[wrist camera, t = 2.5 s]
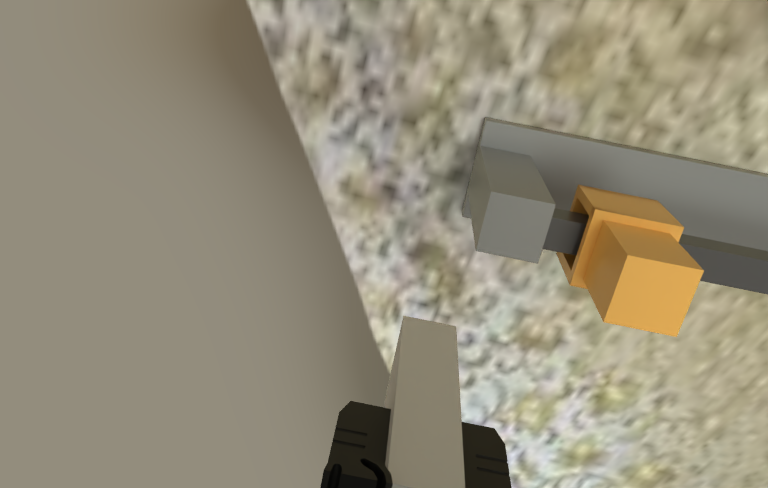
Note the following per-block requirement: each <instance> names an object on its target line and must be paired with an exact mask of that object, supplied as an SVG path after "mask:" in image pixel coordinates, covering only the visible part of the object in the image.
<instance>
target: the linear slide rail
mask: <svg viewBox="0 0 768 488" xmlns="http://www.w3.org/2000/svg"><path fill="white" fill-rule="evenodd" d="M578 185H583V186H588V187H593V188H598V189H603V190H608V191H613V192H618V193H623V194H628V195H633V196H638V197H643V198H648V199H653V200H658V201H659V202H660V203H661V204H662V205H663V206H664V207H665V208H666V209H667V210H668V211H669V212H670V213H671V214H672V215H673V216H674V217H675V218H676V219H677V220H678V221H679V222H680V223H681V224H682V225H683V226H684V230H683V232H682V235H681V237H680V240H679V242H678V243H679V244H680V245H681V246H682V247H683V248H684V249H685V250H686V251H687V252H688V254H689V255H690V256H691V257H692V258H693V259H694V260H695V261H696V262H697V263H698V264H699V266H700V267H701V268H702V269H703V270H704V272H703V275H702V277H701V279H700V281H705V282H710V283H714V284H719V285H724V286H729V287H734V288H739V289H744V290H749V291H754V292H759V293H764V294H768V174H765V173H760V172H755V171H750V170H745V169H740V168H735V167H730V166H725V165H720V164H715V163H710V162H705V161H700V160H695V159H690V158H685V157H680V156H676V155H671V154H666V153H661V152H656V151H651V150H646V149H641V148H636V147H631V146H626V145H621V144H616V143H611V142H606V141H601V140H596V139H591V138H586V137H581V136H576V135H571V134H566V133H561V132H556V131H551V130H546V129H542V128H537V127H532V126H527V125H522V124H517V123H512V122H507V121H502V120H497V119H492V118H487V117H485V120H484V124H483V128H482V132H481V136H480V140H479V144H478V148H477V152H476V156H475V160H474V164H473V168H472V173H471V177H470V181H469V185H468V189H467V193H466V197H465V201H464V205H463V209H462V217H467V218H472V226H473V233H474V241H475V248H476V251H479V252H484V253H489V254H494V255H499V256H504V257H509V258H514V259H519V260H524V261H528V262H533V263H538V262H539V258H540V255H541V252H542V249H546V250H551V251H556V252H561V253H566V254H571V255H577V252H578V249H579V246H580V243H581V240H582V237H583V234H584V231H585V228H586V225H587V222H588V219H589V215H587V214H582V213H577V212H572V211H570V209H571V206H572V203H573V199H574V196H575V193H576V190H577V187H578Z"/></svg>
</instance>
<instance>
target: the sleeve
mask: <svg viewBox="0 0 768 488" xmlns="http://www.w3.org/2000/svg"><path fill="white" fill-rule="evenodd" d="M570 211H572V212H577V213H582V214H587V215H589V219H588V222H587V225H586V228H585V231H584V234H583V237H582V240H581V243H580V246H579V249H578V252H577V255H571V254H566V253H561V252H557V253H556V254H557V256H558V258H559V261H560V263H561V265H562V268H563V270H564V272H565V275H566V277H567V279H568V282H569V284H570V285H571V286H576V287H581V288H585V289H588V291H589V293H590V295H591V297H592V299H593V301H594V303H595V305H596V307H597V309H598V312H599V314H600V316H601V318H602V320H603V322H606V323H611V324H616V325H621V326H626V327H631V328H636V329H641V330H645V331H650V332H655V333H660V334H665V335H670V336H675V337H677V335H678V332H679V330H680V327H681V325H682V323H683V320H684V318H685V315H686V313H687V311H688V308H689V306H690V303H691V301H692V299H693V296H694V294H695V291H696V289H697V287H698V284H699V282H700V279H701V277H702V275H703V272H704V270H703V269H702V268H701V267H700V266H699V264H698V263H697V262H696V261H695V260H694V259H693V258H692V257H691V256H690V255H689V254H688V252H687V251H686V250H685V249H684V248H683V247H682V246H681V245H680V244H679V243H678V242H679V240H680V237H681V235H682V232H683V230H684V226H683V225H682V224H681V223H680V222H679V221H678V220H677V219H676V218H675V217H674V216H673V215H672V214H671V213H670V212H669V211H668V210H667V209H666V208H665V207H664V206H663V205H662V204H661V203H660V202H659V201H658V200H653V199H648V198H643V197H638V196H633V195H628V194H623V193H618V192H613V191H608V190H603V189H598V188H593V187H588V186H583V185H578V187H577V190H576V193H575V196H574V199H573V203H572V206H571V209H570Z"/></svg>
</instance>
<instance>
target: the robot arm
mask: <svg viewBox="0 0 768 488" xmlns="http://www.w3.org/2000/svg"><path fill="white" fill-rule="evenodd" d="M321 488H511V482H510V477H509V468H508V463H507V455H506V448H505V444H504V442H503V441H502V439H501V438H500V436H499V435H498V433H497V432H496V430H495V429H494V428H489V427H484V426H479V425H474V424H470V423H465V422H461V405H460V387H459V369H458V352H457V334H456V326H451V325H446V324H441V323H436V322H431V321H426V320H422V319H417V318H412V317H407V316H403V321H402V325H401V330H400V334H399V339H398V343H397V348H396V352H395V356H394V361H393V365H392V370H391V374H390V379H389V383H388V388H387V393H386V397H385V405H384V408H383V407H378V406H373V405H368V404H363V403H358V402H353V401H350V402H349V403H348V404H347V405H346V406H345V407H344V408H343V409H342V410H341V411H340V412H339V416H338V421H337V425H336V429H335V434H334V438H333V442H332V446H331V451H330V456H329V460H328V463H327V465H326V467H325V469H324V473H323V478H322V483H321Z"/></svg>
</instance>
